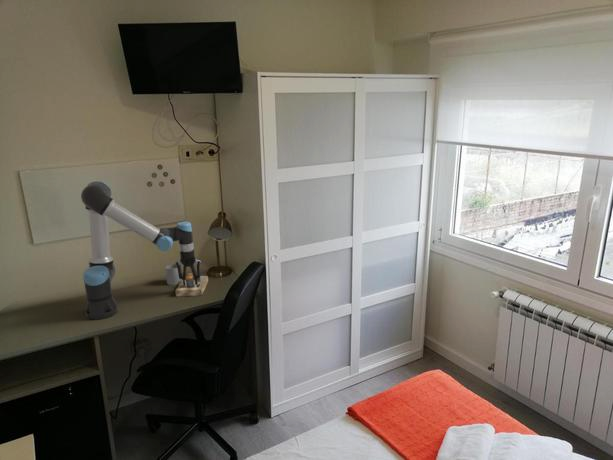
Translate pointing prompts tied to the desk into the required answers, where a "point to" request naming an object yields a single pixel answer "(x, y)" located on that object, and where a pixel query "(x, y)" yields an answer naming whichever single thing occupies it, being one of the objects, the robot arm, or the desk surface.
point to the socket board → (192, 289)
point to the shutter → (199, 280)
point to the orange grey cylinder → (189, 280)
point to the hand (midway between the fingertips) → (191, 289)
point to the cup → (172, 274)
